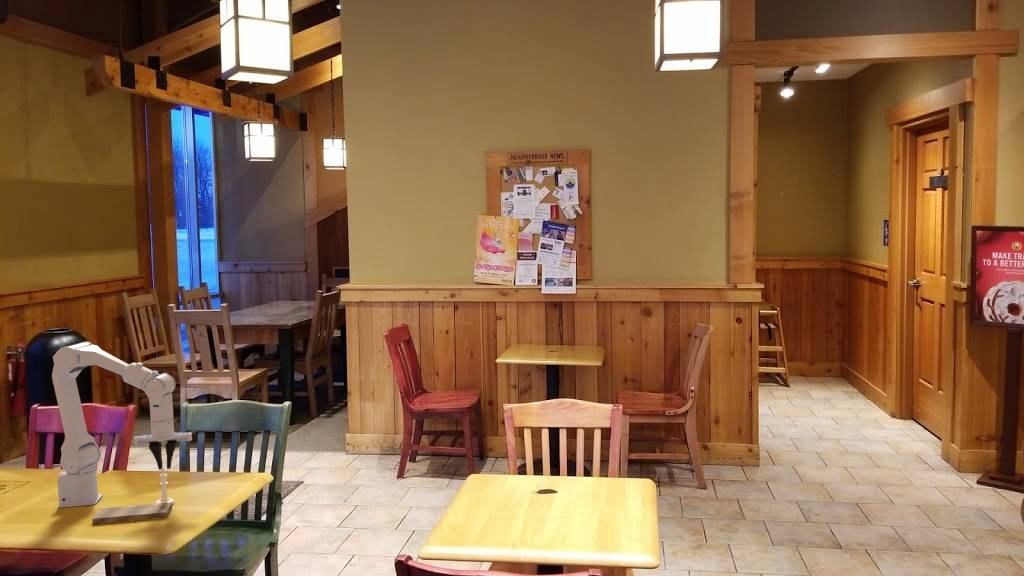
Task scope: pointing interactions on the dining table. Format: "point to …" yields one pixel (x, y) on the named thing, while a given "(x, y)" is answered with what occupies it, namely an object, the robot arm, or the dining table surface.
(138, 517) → the walnut board
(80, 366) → the robot arm
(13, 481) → the dining table surface
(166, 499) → the chess piece
